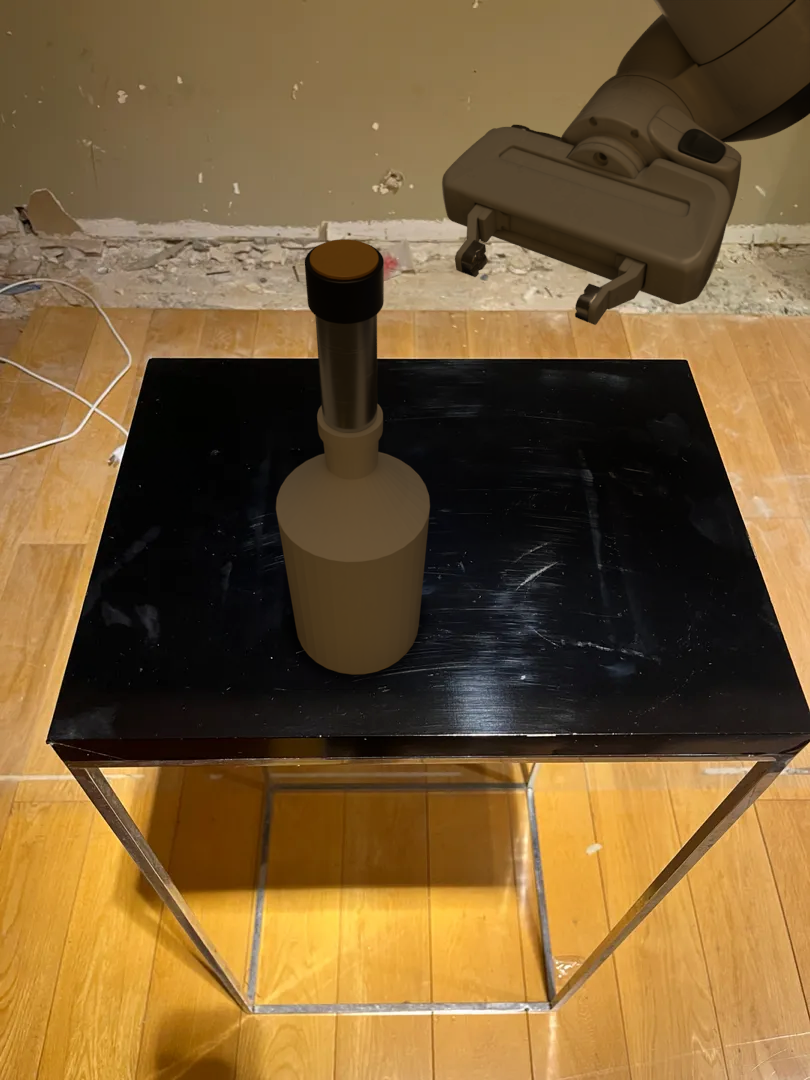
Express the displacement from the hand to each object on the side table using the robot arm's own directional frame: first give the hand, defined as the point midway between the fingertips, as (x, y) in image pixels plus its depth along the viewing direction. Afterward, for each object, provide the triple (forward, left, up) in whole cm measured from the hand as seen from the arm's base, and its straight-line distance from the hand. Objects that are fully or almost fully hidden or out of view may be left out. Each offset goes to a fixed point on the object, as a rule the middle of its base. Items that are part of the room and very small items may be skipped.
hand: (522, 290), depth 56 cm
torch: (+10, +8, -6) cm, 14 cm away
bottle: (+10, +8, -32) cm, 34 cm away
